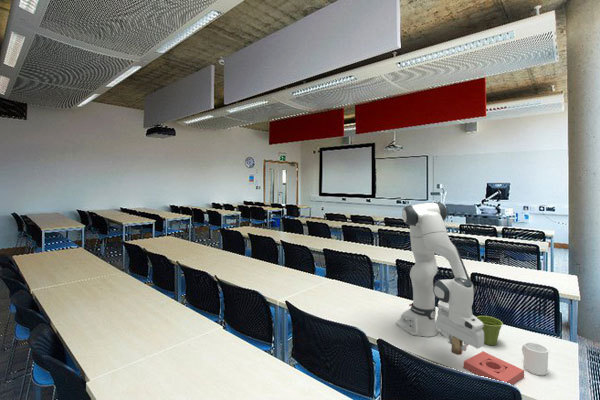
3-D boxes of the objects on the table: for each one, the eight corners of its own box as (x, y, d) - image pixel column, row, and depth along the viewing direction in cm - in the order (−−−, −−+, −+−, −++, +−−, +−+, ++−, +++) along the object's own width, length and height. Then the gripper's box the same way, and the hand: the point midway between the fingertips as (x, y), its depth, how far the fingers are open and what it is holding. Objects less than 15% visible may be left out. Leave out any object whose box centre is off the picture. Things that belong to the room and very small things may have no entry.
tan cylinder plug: (449, 350, 135) (450, 335, 134) (455, 348, 137) (456, 333, 136) (458, 355, 131) (459, 340, 131) (464, 353, 133) (465, 337, 133)
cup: (455, 330, 170) (456, 300, 169) (463, 340, 160) (464, 307, 159) (434, 329, 171) (434, 299, 170) (441, 339, 161) (441, 307, 160)
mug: (513, 359, 142) (514, 338, 141) (531, 359, 142) (532, 338, 141) (532, 376, 130) (533, 352, 129) (552, 376, 130) (553, 352, 129)
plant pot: (505, 350, 150) (506, 327, 149) (477, 346, 154) (478, 324, 153) (498, 338, 161) (499, 317, 161) (473, 334, 165) (473, 314, 164)
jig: (463, 367, 136) (463, 361, 136) (482, 357, 144) (483, 351, 144) (505, 389, 122) (505, 382, 122) (524, 377, 129) (524, 370, 129)
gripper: (433, 308, 140) (431, 337, 141) (478, 329, 122) (475, 361, 124) (442, 305, 143) (440, 333, 145) (487, 325, 126) (484, 357, 127)
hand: (457, 346), depth 134 cm, fingers closed on tan cylinder plug, 4 cm apart
